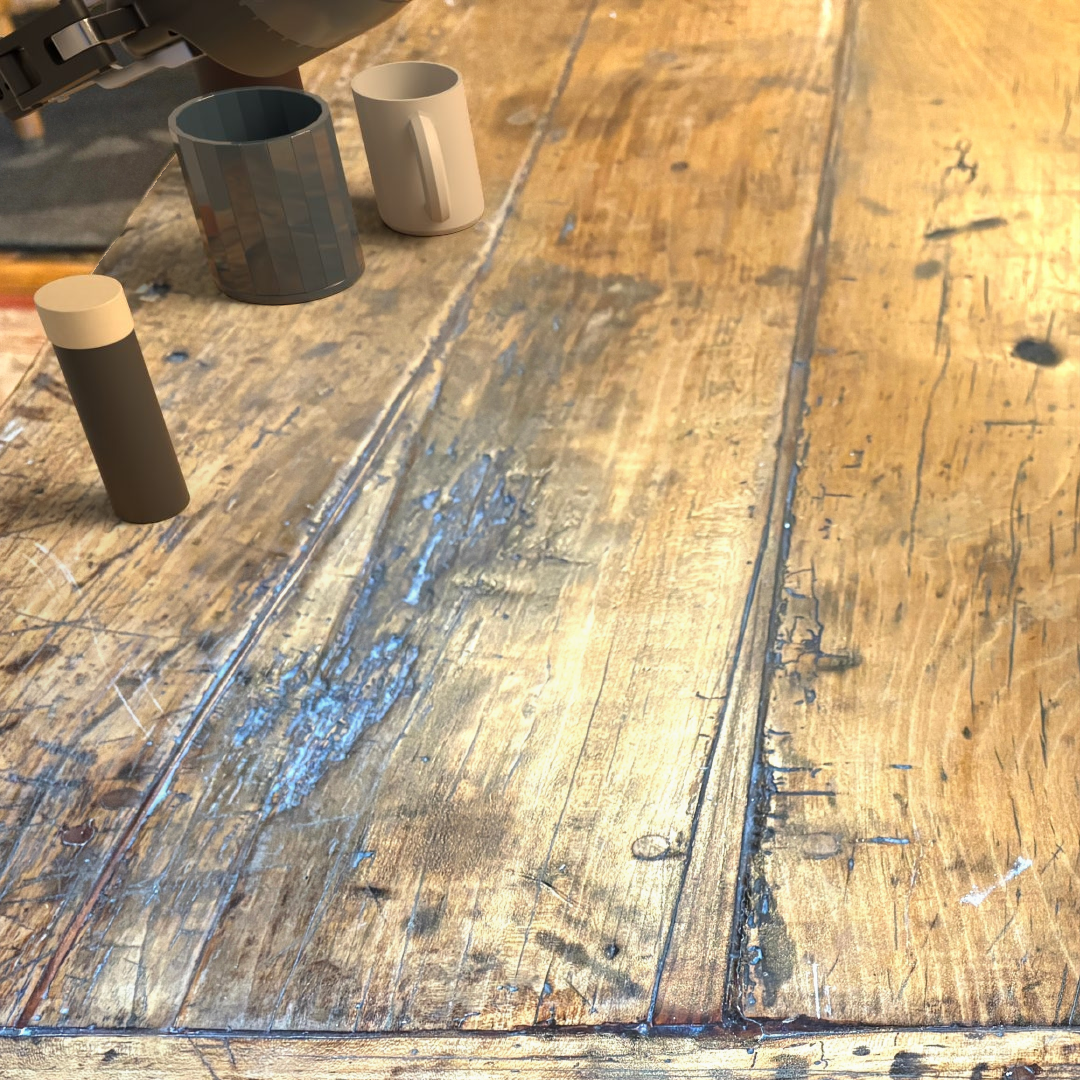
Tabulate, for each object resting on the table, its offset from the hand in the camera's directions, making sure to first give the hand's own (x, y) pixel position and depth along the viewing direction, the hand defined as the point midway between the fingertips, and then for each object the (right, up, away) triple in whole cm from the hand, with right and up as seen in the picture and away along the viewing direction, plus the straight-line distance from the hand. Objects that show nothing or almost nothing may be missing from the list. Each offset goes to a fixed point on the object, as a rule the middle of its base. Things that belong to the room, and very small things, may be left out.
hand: (76, 68), depth 81 cm
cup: (+2, +12, +45) cm, 47 cm away
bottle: (-11, +17, +49) cm, 53 cm away
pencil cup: (-6, +7, +39) cm, 40 cm away
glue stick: (-5, -14, +19) cm, 24 cm away
